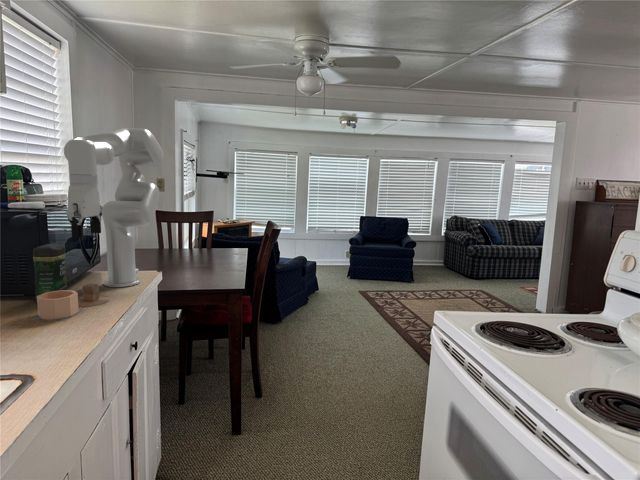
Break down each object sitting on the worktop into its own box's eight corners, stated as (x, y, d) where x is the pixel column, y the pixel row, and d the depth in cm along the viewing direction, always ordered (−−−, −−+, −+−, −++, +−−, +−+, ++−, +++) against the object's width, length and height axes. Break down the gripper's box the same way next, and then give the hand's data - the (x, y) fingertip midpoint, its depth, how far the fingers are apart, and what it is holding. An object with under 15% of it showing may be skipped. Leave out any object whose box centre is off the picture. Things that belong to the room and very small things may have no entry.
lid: (84, 298, 135) (83, 280, 134) (116, 299, 135) (115, 281, 134) (64, 308, 125) (63, 288, 124) (98, 309, 124) (97, 290, 123)
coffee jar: (59, 303, 128) (55, 246, 125) (32, 304, 126) (27, 246, 124) (72, 294, 137) (68, 241, 135) (46, 295, 136) (42, 241, 133)
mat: (53, 309, 122) (53, 308, 122) (86, 310, 122) (86, 309, 122) (29, 321, 112) (29, 319, 112) (64, 322, 112) (64, 321, 112)
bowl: (53, 308, 122) (52, 289, 121) (84, 309, 121) (83, 290, 121) (31, 319, 112) (29, 299, 111) (64, 320, 112) (63, 300, 111)
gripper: (88, 180, 132) (91, 231, 135) (52, 180, 115) (57, 239, 118) (110, 180, 132) (113, 231, 135) (78, 181, 115) (82, 240, 118)
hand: (87, 235), depth 126 cm, fingers open, 9 cm apart
